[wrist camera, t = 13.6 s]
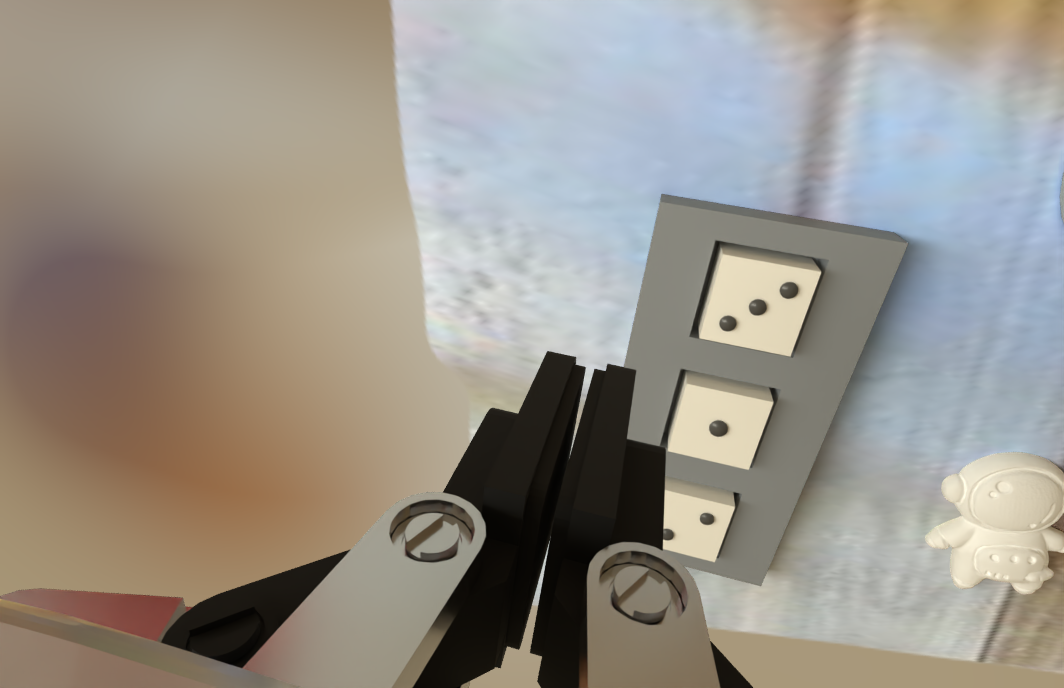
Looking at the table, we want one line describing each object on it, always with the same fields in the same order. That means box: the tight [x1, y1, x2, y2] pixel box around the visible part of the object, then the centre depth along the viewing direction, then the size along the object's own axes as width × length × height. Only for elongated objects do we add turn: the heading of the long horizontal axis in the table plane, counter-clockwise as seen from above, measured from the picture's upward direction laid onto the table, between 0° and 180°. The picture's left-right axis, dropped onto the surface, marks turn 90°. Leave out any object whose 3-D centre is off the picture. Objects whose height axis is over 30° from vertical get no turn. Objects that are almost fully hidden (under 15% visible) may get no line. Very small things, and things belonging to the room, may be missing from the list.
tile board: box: [624, 194, 908, 586], centre depth 41 cm, size 14×28×2 cm, turn 173°
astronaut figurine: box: [925, 452, 1064, 594], centre depth 40 cm, size 9×12×3 cm
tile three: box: [698, 241, 821, 356], centre depth 36 cm, size 6×6×3 cm
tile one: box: [668, 369, 773, 470], centre depth 40 cm, size 6×6×3 cm
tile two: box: [663, 476, 735, 562], centre depth 44 cm, size 6×6×3 cm
